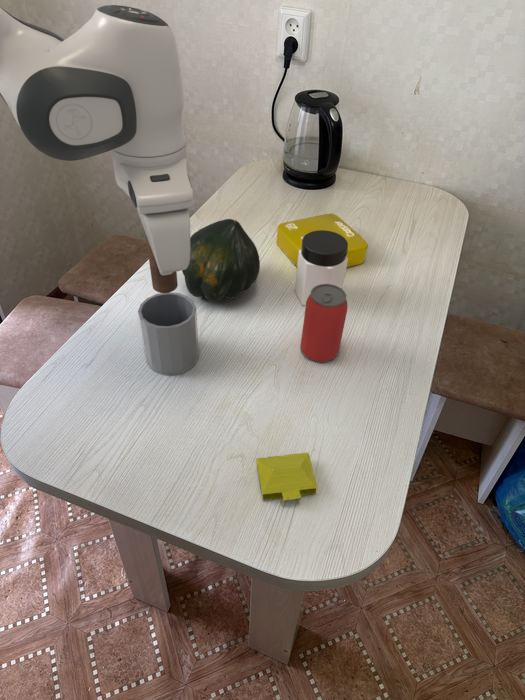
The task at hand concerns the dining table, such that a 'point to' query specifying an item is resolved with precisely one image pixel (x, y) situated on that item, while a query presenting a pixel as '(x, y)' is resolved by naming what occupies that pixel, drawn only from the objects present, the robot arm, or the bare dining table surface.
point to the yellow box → (296, 230)
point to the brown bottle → (160, 281)
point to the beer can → (324, 322)
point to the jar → (320, 262)
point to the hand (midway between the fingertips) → (162, 262)
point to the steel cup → (169, 333)
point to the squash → (221, 261)
